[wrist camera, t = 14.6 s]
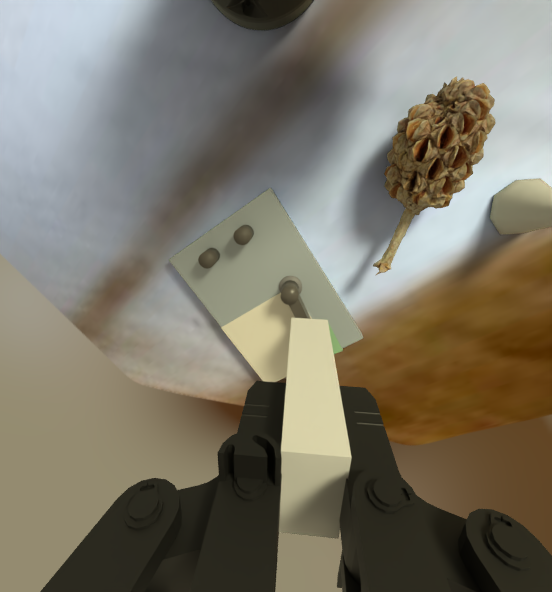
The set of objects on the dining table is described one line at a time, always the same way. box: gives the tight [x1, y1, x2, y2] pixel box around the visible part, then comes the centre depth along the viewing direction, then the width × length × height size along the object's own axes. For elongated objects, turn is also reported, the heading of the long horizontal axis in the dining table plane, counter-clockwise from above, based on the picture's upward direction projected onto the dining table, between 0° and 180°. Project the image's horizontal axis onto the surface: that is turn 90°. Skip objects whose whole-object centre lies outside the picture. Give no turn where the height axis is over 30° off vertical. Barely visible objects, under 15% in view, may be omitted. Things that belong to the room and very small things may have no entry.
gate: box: [281, 280, 311, 319], centre depth 42 cm, size 15×2×8 cm, turn 25°
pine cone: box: [373, 77, 495, 275], centre depth 35 cm, size 22×10×10 cm, turn 169°
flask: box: [490, 178, 552, 234], centre depth 35 cm, size 7×7×10 cm
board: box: [169, 188, 363, 382], centre depth 45 cm, size 26×18×5 cm
